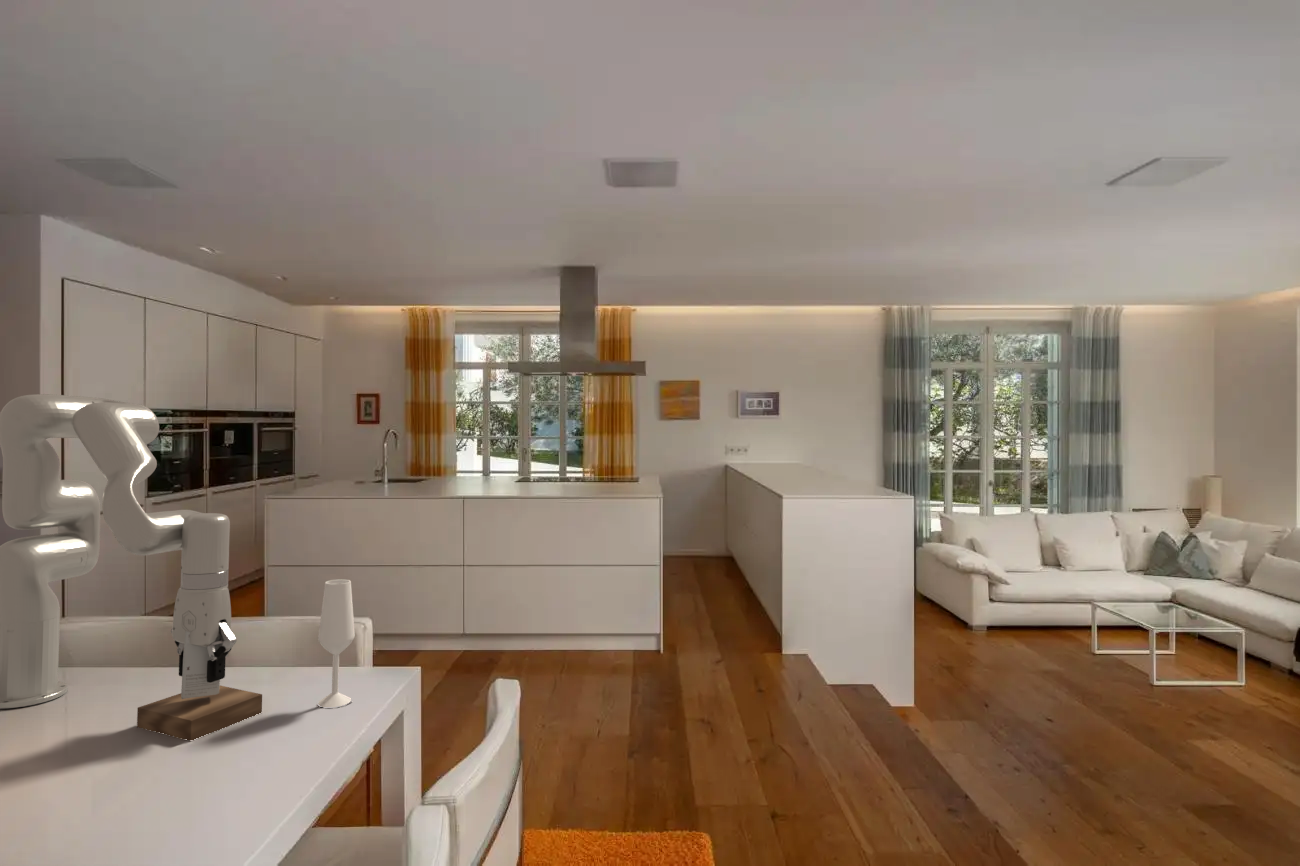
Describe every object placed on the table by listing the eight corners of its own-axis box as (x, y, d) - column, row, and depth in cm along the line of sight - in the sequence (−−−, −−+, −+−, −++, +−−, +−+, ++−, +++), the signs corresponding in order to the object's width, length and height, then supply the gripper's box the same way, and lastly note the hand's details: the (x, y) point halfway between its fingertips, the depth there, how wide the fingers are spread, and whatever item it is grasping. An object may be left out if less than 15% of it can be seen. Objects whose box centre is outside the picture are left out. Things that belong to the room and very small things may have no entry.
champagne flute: (312, 700, 144) (315, 580, 144) (347, 693, 148) (351, 577, 148) (320, 711, 138) (324, 586, 138) (357, 704, 142) (360, 583, 143)
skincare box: (181, 700, 129) (183, 632, 129) (181, 692, 133) (183, 626, 133) (220, 694, 133) (223, 628, 133) (219, 686, 136) (221, 623, 137)
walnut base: (136, 729, 129) (137, 707, 129) (210, 703, 142) (210, 683, 142) (190, 743, 124) (191, 720, 124) (261, 715, 137) (262, 694, 137)
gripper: (152, 579, 133) (149, 676, 133) (218, 589, 126) (215, 691, 126) (192, 572, 140) (189, 664, 140) (256, 581, 133) (253, 678, 133)
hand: (201, 676), depth 133 cm, fingers closed on skincare box, 6 cm apart
